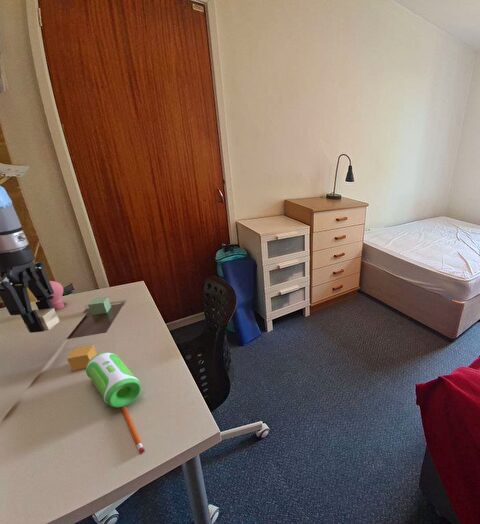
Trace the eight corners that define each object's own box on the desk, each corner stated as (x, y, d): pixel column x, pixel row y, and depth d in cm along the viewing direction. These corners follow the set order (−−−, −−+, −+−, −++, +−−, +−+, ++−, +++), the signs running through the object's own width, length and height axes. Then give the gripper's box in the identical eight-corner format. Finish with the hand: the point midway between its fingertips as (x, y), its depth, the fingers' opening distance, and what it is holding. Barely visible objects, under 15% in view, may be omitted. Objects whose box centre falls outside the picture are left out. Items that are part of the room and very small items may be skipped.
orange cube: (72, 371, 79) (66, 358, 77) (79, 360, 83) (74, 348, 81) (92, 367, 81) (87, 354, 79) (98, 356, 85) (93, 344, 83)
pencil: (140, 454, 59) (139, 451, 59) (118, 402, 70) (117, 399, 70) (145, 451, 60) (143, 448, 59) (122, 400, 71) (121, 397, 71)
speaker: (88, 381, 76) (79, 359, 73) (121, 366, 81) (113, 345, 79) (111, 416, 66) (101, 392, 64) (146, 396, 72) (138, 373, 69)
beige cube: (29, 332, 77) (22, 318, 75) (40, 323, 81) (34, 309, 79) (49, 330, 78) (42, 316, 76) (59, 321, 82) (54, 308, 80)
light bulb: (43, 310, 106) (30, 282, 101) (69, 303, 111) (58, 276, 106) (45, 317, 102) (32, 288, 97) (72, 309, 107) (60, 281, 102)
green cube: (91, 315, 102) (87, 304, 101) (96, 309, 106) (92, 298, 104) (107, 313, 104) (103, 302, 102) (111, 306, 108) (107, 296, 106)
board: (61, 342, 90) (59, 340, 89) (87, 310, 107) (86, 308, 106) (107, 334, 94) (106, 332, 94) (125, 305, 111) (124, 303, 111)
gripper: (-3, 261, 63) (38, 343, 72) (51, 237, 79) (79, 308, 88) (-47, 263, 61) (1, 348, 71) (17, 238, 77) (49, 310, 86)
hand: (44, 325), depth 79 cm, fingers closed on beige cube, 4 cm apart
